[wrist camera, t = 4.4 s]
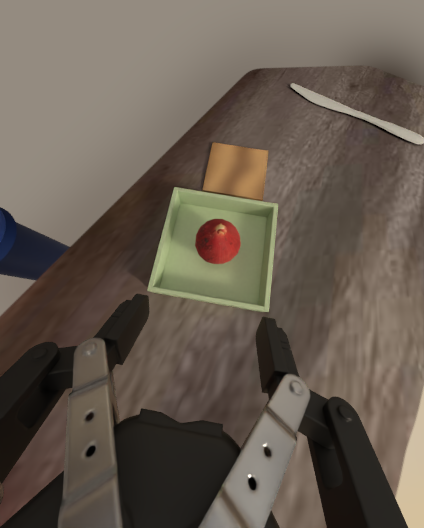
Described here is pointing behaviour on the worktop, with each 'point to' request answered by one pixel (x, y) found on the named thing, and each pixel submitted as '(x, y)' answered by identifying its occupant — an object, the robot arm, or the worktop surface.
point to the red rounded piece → (217, 241)
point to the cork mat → (236, 171)
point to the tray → (216, 275)
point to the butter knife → (358, 114)
